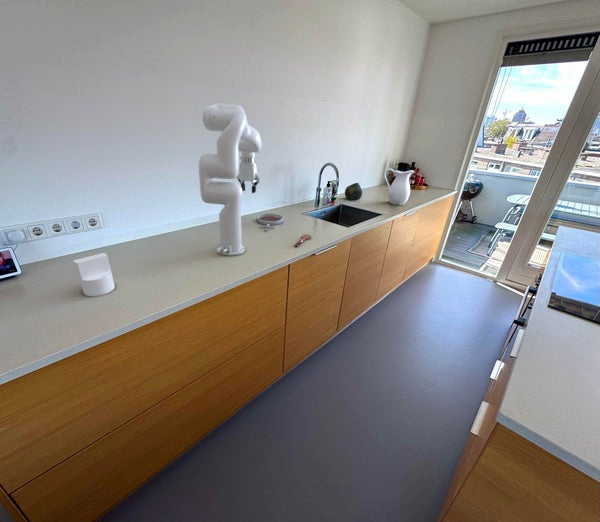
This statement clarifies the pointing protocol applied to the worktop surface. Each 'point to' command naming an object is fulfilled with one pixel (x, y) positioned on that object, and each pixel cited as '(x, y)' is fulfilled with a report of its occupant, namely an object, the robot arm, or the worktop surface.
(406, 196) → the pitcher
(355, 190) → the squash
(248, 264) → the worktop surface
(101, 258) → the cylinder with rectangular tab
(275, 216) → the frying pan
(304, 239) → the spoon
